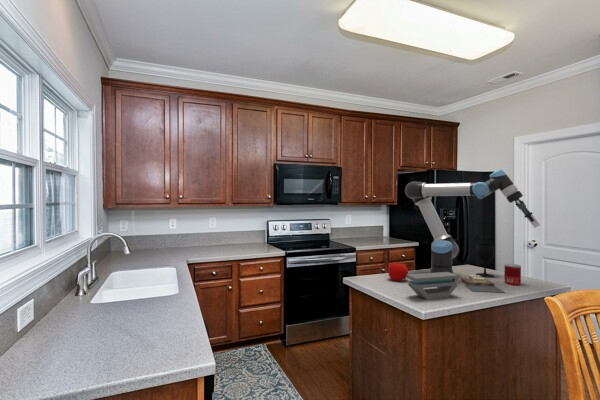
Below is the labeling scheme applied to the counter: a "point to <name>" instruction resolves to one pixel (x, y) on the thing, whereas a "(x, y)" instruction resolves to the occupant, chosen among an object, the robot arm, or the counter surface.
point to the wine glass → (485, 257)
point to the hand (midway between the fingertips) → (537, 226)
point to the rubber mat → (484, 289)
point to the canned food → (512, 274)
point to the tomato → (398, 271)
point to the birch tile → (477, 278)
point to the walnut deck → (469, 282)
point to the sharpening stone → (433, 284)
